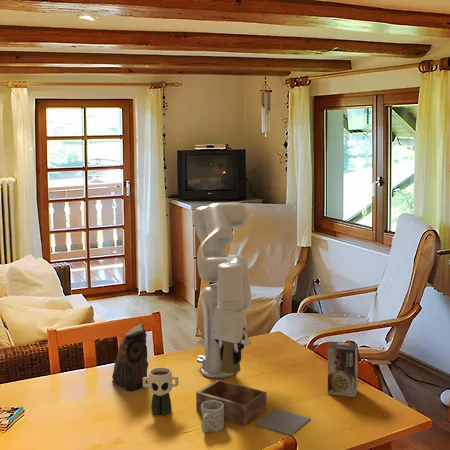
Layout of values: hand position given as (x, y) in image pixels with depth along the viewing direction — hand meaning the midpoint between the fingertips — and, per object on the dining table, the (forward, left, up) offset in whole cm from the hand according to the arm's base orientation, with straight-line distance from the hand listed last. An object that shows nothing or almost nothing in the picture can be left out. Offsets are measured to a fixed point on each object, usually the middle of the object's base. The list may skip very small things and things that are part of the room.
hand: (230, 360), depth 195 cm
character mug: (-18, -12, -16) cm, 27 cm away
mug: (+2, -14, -16) cm, 21 cm away
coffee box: (+23, +31, -16) cm, 42 cm away
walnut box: (0, 0, -16) cm, 16 cm away
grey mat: (+17, +2, -16) cm, 24 cm away
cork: (0, 0, -3) cm, 3 cm away
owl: (-41, -1, -16) cm, 44 cm away
